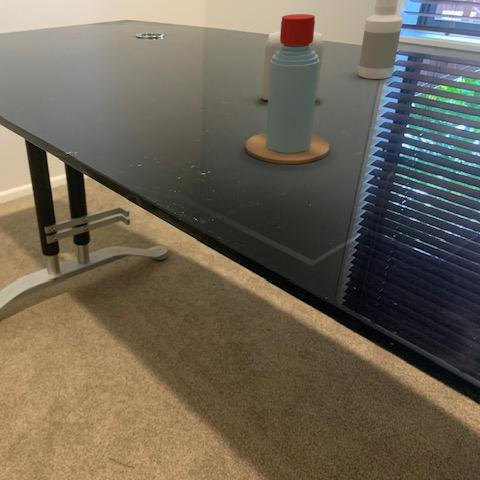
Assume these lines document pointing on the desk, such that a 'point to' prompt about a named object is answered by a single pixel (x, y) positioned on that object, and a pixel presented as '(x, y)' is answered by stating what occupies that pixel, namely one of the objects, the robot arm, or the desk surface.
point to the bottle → (291, 98)
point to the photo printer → (274, 46)
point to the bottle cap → (297, 29)
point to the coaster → (261, 152)
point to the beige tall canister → (380, 41)
